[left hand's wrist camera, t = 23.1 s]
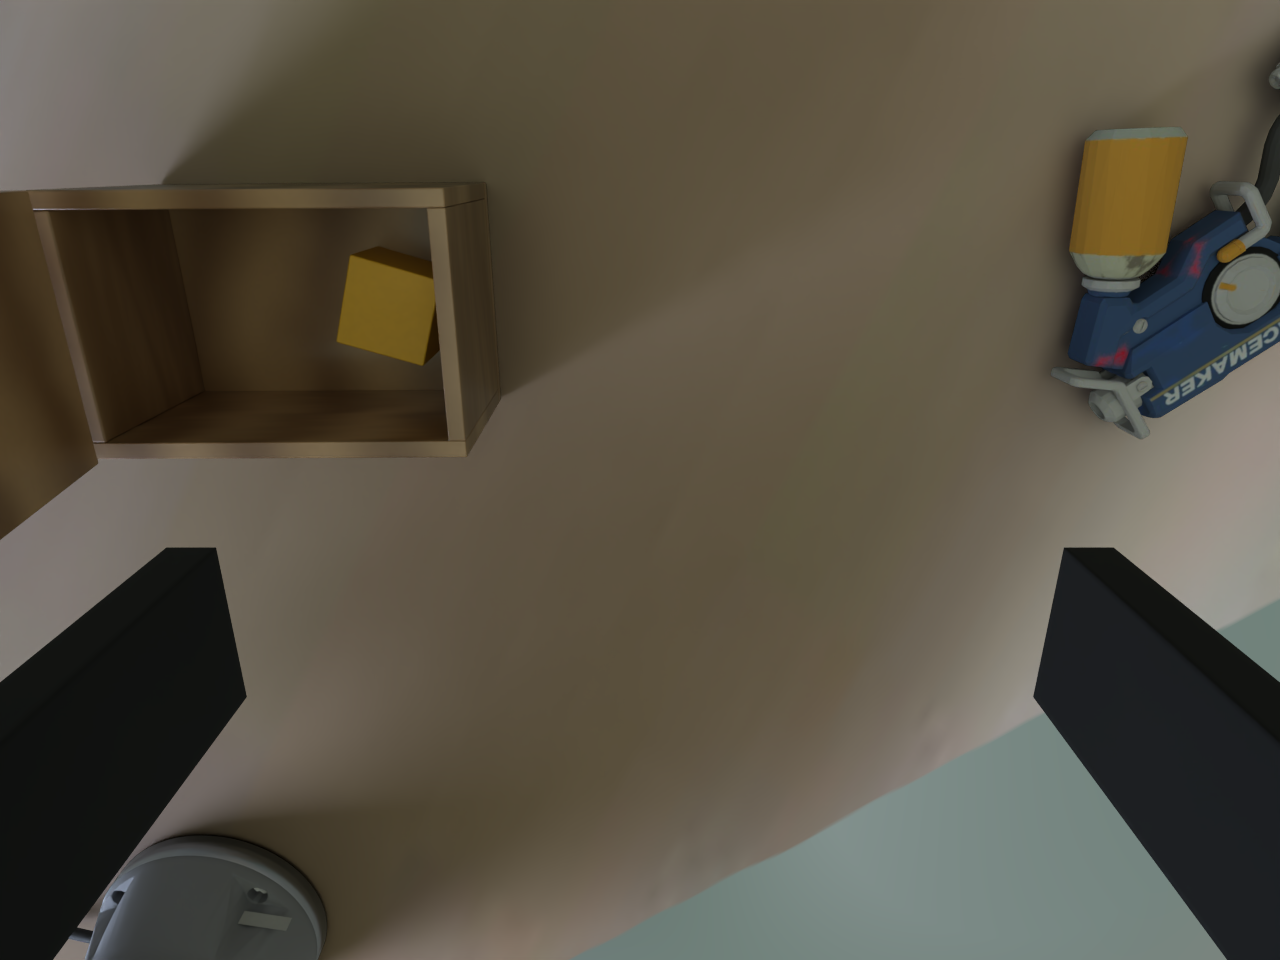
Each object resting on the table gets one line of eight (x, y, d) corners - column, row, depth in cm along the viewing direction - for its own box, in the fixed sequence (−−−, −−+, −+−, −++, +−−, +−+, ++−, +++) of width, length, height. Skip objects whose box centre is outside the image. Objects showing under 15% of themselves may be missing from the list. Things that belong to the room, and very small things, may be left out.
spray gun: (954, 219, 42) (1080, 440, 47) (989, 225, 38) (1124, 466, 43) (1346, -62, 38) (1442, 210, 43) (1431, -88, 34) (1527, 215, 39)
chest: (486, 182, 42) (443, 187, 33) (501, 399, 46) (466, 457, 37) (157, 184, 42) (23, 190, 33) (201, 400, 46) (93, 459, 37)
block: (459, 269, 43) (440, 280, 39) (443, 348, 44) (423, 366, 40) (376, 245, 42) (349, 253, 38) (363, 325, 44) (335, 342, 40)
